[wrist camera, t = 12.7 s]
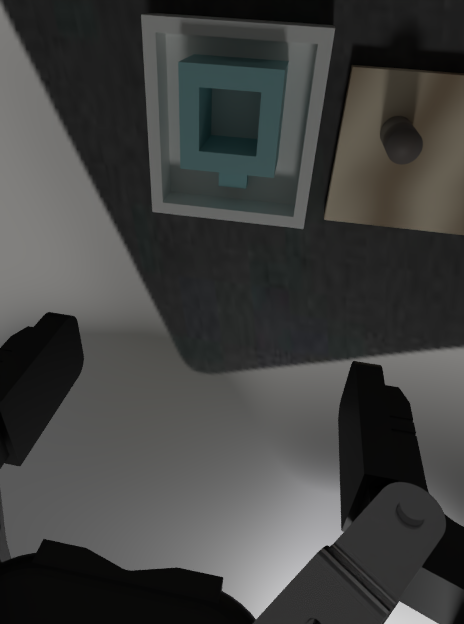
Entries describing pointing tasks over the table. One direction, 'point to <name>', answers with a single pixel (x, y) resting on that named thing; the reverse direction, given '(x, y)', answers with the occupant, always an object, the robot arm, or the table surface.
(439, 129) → the peg board
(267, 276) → the table surface
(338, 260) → the table surface
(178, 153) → the tray
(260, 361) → the table surface
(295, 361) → the table surface
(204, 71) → the teal hollow block
